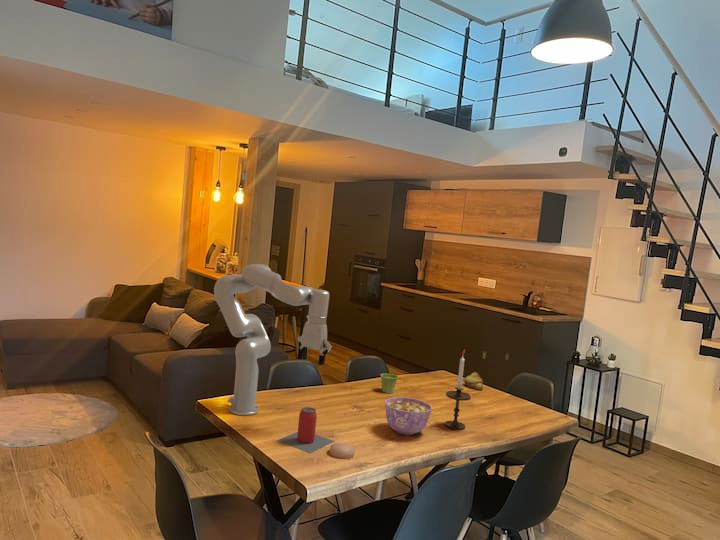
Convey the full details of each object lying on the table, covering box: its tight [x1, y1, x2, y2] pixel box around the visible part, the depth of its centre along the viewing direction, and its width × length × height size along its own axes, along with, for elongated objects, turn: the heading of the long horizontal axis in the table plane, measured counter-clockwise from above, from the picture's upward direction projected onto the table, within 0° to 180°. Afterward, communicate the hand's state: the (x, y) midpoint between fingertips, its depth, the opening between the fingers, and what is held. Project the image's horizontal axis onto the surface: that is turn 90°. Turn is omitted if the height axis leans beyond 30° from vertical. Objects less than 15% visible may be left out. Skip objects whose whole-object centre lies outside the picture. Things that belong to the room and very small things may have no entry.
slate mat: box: [275, 431, 336, 454], centre depth 202 cm, size 16×16×1 cm
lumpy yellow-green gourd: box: [463, 371, 484, 391], centre depth 309 cm, size 13×10×8 cm
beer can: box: [297, 406, 318, 443], centre depth 202 cm, size 7×7×12 cm
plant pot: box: [380, 373, 399, 394], centre depth 282 cm, size 9×9×9 cm
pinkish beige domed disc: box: [329, 442, 356, 460], centre depth 194 cm, size 9×9×3 cm
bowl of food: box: [384, 396, 433, 436], centre depth 225 cm, size 20×20×12 cm
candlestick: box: [444, 349, 472, 431], centre depth 237 cm, size 11×11×35 cm
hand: (311, 361), depth 217 cm, fingers open, 9 cm apart
